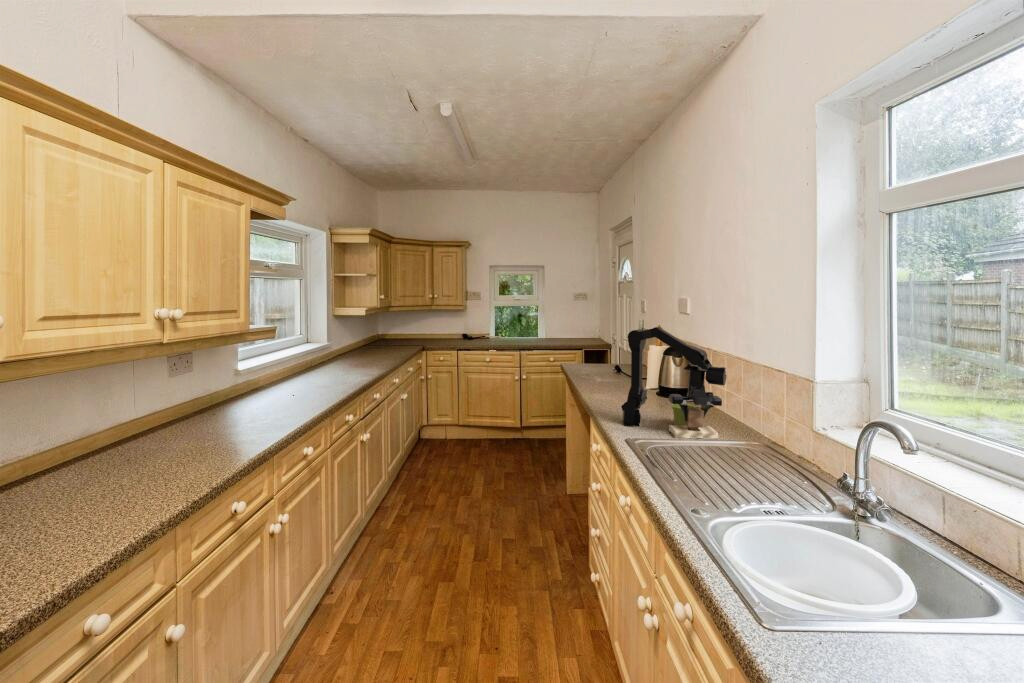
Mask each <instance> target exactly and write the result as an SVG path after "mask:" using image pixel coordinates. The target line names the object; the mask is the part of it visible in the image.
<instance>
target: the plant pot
mask: <svg viewBox="0 0 1024 683" xmlns="http://www.w3.org/2000/svg"><path fill="white" fill-rule="evenodd" d="M686 404H687V403H686ZM687 405H688V407H696V405H694V404H693V405H692V404H689V403H688V404H687ZM671 407H672V410H673V421H674V422H673V423H674V424H673V425H686V424H685V423H684V420H685V418H684V415H683V412H682V409H681V407H680V406H679V405H678V404H672V403H671ZM686 426H687V425H686Z"/></svg>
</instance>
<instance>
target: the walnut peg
mask: <svg viewBox="0 0 1024 683" xmlns="http://www.w3.org/2000/svg"><path fill="white" fill-rule="evenodd" d="M703 418H704V419H705V417H704V411H703V410H702V409H701V406H700V407H698V406H697V407H696V406H695V407H687V421H685V420H684V423H685V424H686V425H687V426H688V430H689V431H698V427H703V426H704V419H703Z"/></svg>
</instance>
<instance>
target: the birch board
mask: <svg viewBox="0 0 1024 683" xmlns="http://www.w3.org/2000/svg"><path fill="white" fill-rule="evenodd" d="M668 426H669V428H668V432H671V433H672V434H673V435H674V436H675V437H674V436H673V435H672V434H671V433H670V434H671V435H672V436H673V437H674V439H682V438H684V437H685V438H690V437H694V438H718V439H719V433H718V431H716V430H715V429H714V428H712V427H711V425H710V426H708V425H707V426H704V425H703V427H698V431H689V430H688V426H686V425H674V424H669V425H668Z"/></svg>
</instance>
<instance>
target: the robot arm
mask: <svg viewBox="0 0 1024 683" xmlns="http://www.w3.org/2000/svg"><path fill="white" fill-rule="evenodd" d="M653 338H656V339H657V340H659V341H661V343H664V344H665V345H667V346H669V347H670V348H672V349H674V350H675V351H677V352H679V353H680V354H681V355H682V357H684V359H686V360H687V362H688V364H687V365H686V366H684V367H683V370H686V371H689V373H688V383H687V393H686V396H682V395H681V394H680V393H679V394H678V393H670V395H669V396H668V401H669V402H670V403H671V405H672V404H678V405H679V406H680V407H681V409H682V412H683V415H684V418H685V421H687V407H688V405H687V403H693V405H694V406H699V405H700V408H701V409H702V410H703V411H704V418H703V420H704V419H705V417H706V415H707V413H708V411H709V410H710V409H711V408H714V406H716V407H717V406H720V407H721V406H723V401H722V398H721V397H719V396H718V395H714V393H713V391H706V386H705V381H706V383H708V385H709V384H710V385H718V386H723V387H724V386H725V385H726V381H727V373H726V372H727V371H726V369H727V368H726V367H725V366H724V367H723V366H721V367H719V366H713V365H712V364H711V362H710V360H709V359H708V354H707V352H706V351H705V350H704V349H702V348H699V347H696V346H693V345H690V344H688V343H686V342H684V341H683V340H681V339H679V338H678V337H676V336H675V335H672V334H671V333H669V332H668V331H666V330H665V329H663V328H662V327H660V326H655V327H652V328H649V329H645V330H643V329H639V328H638V329H634V330H631V331H629V333H628V334H627V343H628V346H629V349H630V355H631V357H630V358H631V363H630V364H631V365H630V380H631V381H630V387H629V388H630V389H628V390H629V391H628V394H627V399H626V400H627V401H625V402H624V403H623V404H622V405H621V410H622V420H621V422H622V425H623V426H627V427H640V426H641V425H640V424H641V418H642V417H641V413H640V410H639V409H640V408H641V407H642V406H643V405H644V404H645V403H646V400H648V396H647V395H648V394H647V392H648V389H645V388H644V386H643V351H644V348H645V346H646V340H647V339H648V340H649V339H653Z"/></svg>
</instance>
